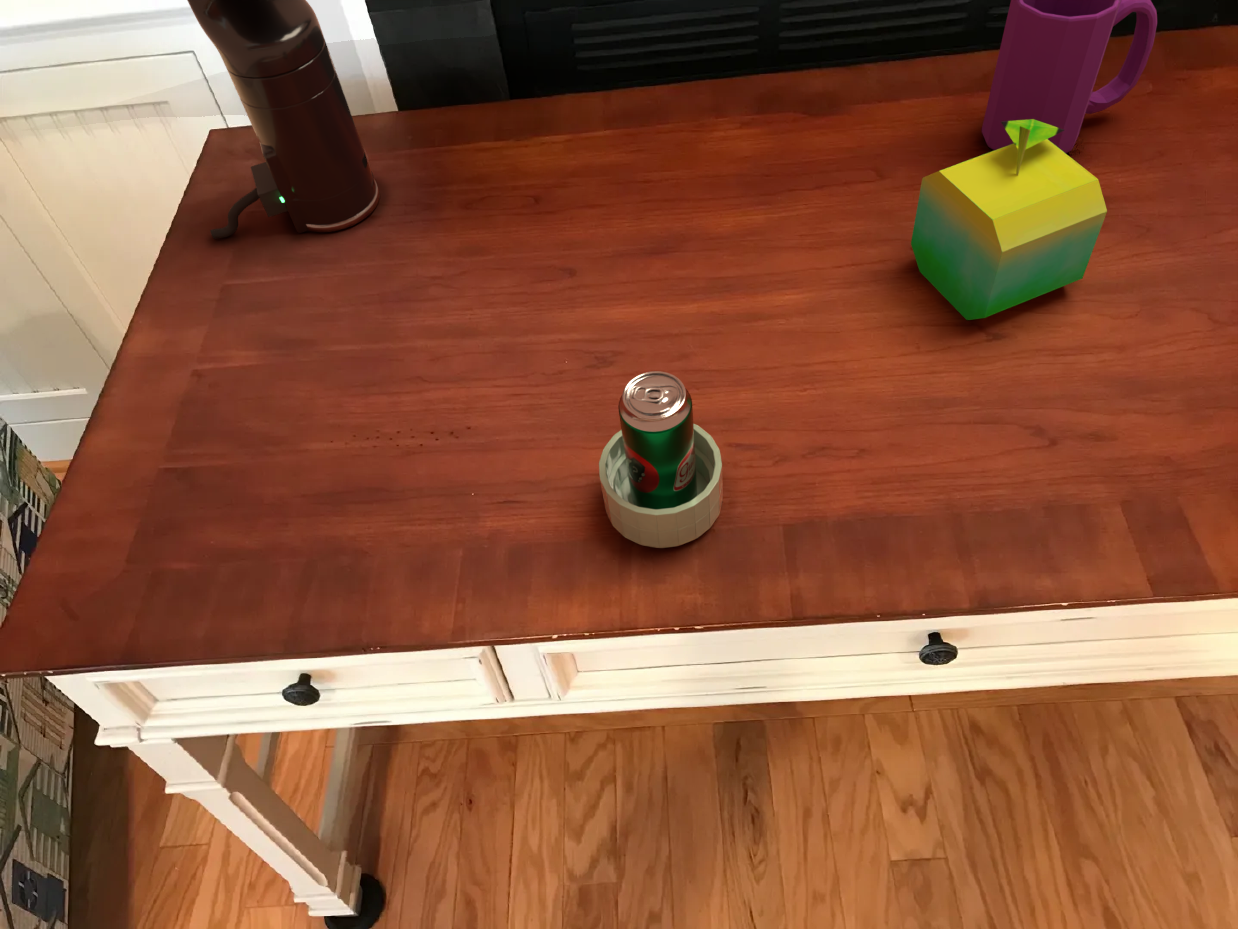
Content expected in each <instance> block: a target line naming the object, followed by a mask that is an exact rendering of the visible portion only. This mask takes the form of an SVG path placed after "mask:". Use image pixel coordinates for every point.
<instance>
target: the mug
mask: <svg viewBox="0 0 1238 929" xmlns="http://www.w3.org/2000/svg"><path fill="white" fill-rule="evenodd" d="M1133 12H1134V13H1136V23H1135V28H1134V32H1133V37H1132V41H1131V43H1130V46H1129V49H1128V52H1127V54H1126V57H1125V60H1124V62H1123V64H1122V65H1121V67H1120V70H1119V72H1118V74H1117V75H1115V76H1114V78H1112V79H1111V80H1110V81H1109V82H1108V83H1107V84H1106V85H1104V86H1102V87H1100V88H1099V89H1097V90H1096V91H1093V90H1094V88H1095V84H1096V82H1097V78H1098V74H1099V71H1100V68H1101V65H1102V62H1103V60H1104V56H1105V53H1106V49H1107V46H1108V43H1109V41H1110V37H1111V33H1112V30H1113V27H1114V26H1116V25H1117V24H1118V23H1120V22H1121V21H1123V20H1124V19H1125V18H1126V17H1127V16H1129V15H1130V14H1131V13H1133ZM1157 12H1158V11H1157V9H1156V7H1155V5H1154V3H1153V2H1152V0H1010V4H1009V9H1008V12H1007V17H1006V21H1005V25H1004V30H1003V34H1002V39H1001V42H1000V46H999V52H998V56H997V60H996V64H995V69H994V74H993V77H992V82H991V87H990V90H989V95H988V100H987V103H986V104H987V105H986V108H985V113H984V117H983V121H982V126H981V134H982V136H983V138H984V140H985V141H984V142H985V143H986V145H987V147H989V149H992V151H994V150H997V149H1000V148H1003V147H1005V146H1008V145H1011V144H1013V143H1014V142H1013V141H1012V139H1011V137H1010V136H1009V134H1008V133H1007V131H1006V129H1005V128H1004V126H1003V125H1002V123H1001V122H1002V121H1015V120H1029V119H1034V120H1037V121H1040V122H1043V123H1046V124H1049V125H1052V126H1055V127H1058V128H1061V129H1064V131H1062V132H1060V133H1058V134H1056V135H1054V136H1052V137H1050V138H1048V140H1049V141H1050V142H1052V143H1053V144H1054V145H1055V146H1057V147H1058V148H1059V149H1060V150H1062V151H1063V152H1064V153H1066V154H1067V153H1069V152H1071V151H1072V150H1073V148H1074V147H1075V144H1076V142H1077V140H1078V137H1079V136H1080V132H1081V128H1082V125H1083V122H1084V119H1085V115H1086V114H1088V115H1092V114H1096V113H1099V112H1102V111H1105V110H1107V109H1108V108H1111V107H1112V106H1114V105H1115V104H1118V103H1119V102H1121V101H1122V100H1123V99H1124V98H1125V97H1126V96H1127V95H1128V94H1129V93H1130V92H1131V90H1132V89H1134V88H1135V87H1136V85H1137V83H1138V82H1139V80H1140V78H1141V76H1142V74H1143V72H1144V70H1145V69H1146V66H1147V63H1148V60H1149V57H1150V55H1151V53H1152V49H1153V47H1154V43H1155V38H1156V32H1157V27H1158V14H1157Z"/></svg>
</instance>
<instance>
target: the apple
mask: <svg viewBox="0 0 1238 929" xmlns="http://www.w3.org/2000/svg"><path fill="white" fill-rule="evenodd" d="M1001 123H1002V125H1003V126H1004V128H1005V129H1006V131H1007V133H1008V134H1009V136H1010V137H1011V139H1012V141H1013V142H1014V143H1013V144H1011V145H1008V146H1005V147H1003V148H1000V149H997V150H992V151H988V152H986V153H983V154H981V155H979V156H976V157H972V158H969V159H968V160H967V159H966V160H964V161H962V162H959V163H957V164H954V165H952V166H948V167H946V168H943V169H940V170H938V171H935V172H933V173H931V174H928V175H926V176H924V177H922V179H921V184H920V189H919V196H918V201H917V206H916V212H915V218H914V222H913V227H912V228H913V229H912V234H911V241H910V246H911V248H912V249H911V250H912V252H913V256H914V258H915V261H916V264H917V267H918V272H919V273H921V275H922V276H923V277H924V278H925V279H926V280H927V281H928V282H929V283H930V284H931V285H932V286H933V287H934V288H935V289H936V290H937V292H939V294H940V295H941V296H943V297H944V298H945V299H946V300H947V302H949V304H950V305H951V306H952V307H953V308H954V309H955V310H956V311H957V312H958V313H959V314H960V315H961V316H962V317H963V318H964V319H965V320H966V321H972V320H979V319H986V318H988V317H991V316H993V315H995V314H998V313H1001V312H1003V311H1005V310H1008V309H1011V308H1012V307H1016V306H1018V305H1020V304H1024V303H1025V302H1028V301H1030V300H1033V299H1036V298H1037V297H1040V296H1043V295H1045V294H1047V293H1050V292H1053V291H1055V290H1058V289H1060V288H1063V287H1065V286H1068V285H1071V284H1072V283H1075V282H1078V281H1080V280H1082V279H1084V275H1085V273H1086V270H1087V268H1088V264H1089V261H1090V259H1091V256H1092V254H1093V251H1094V249H1095V246H1096V244H1097V241H1098V237H1099V235H1100V232H1101V229H1102V226H1103V225H1104V221H1105V219H1106V216H1107V213H1108V209H1107V205H1106V202H1105V199H1104V195H1103V192H1102V191H1103V190H1102V187H1101V184H1100V181H1099V178H1097V177H1096V176H1095V175H1093V173H1091V172H1090V171H1088V170H1087V169H1086V168H1085V167H1083V166H1082V165H1081V164H1079V163H1078V162H1077V161H1076V160H1074V158H1072V157H1070V156H1069V155H1068V154H1067V153H1064V152H1063V151H1062V150H1060V149H1059V148H1058V147H1057V146H1055V145H1054V144H1053V143H1052V142H1050V141H1049V140H1048V138H1050V137H1052V136H1054V135H1056V134H1058V133H1060V132H1062V131H1064V129H1061V128H1058V127H1055V126H1052V125H1049V124H1046V123H1043V122H1040V121H1037V120H1034V119H1029V120H1015V121H1002V122H1001Z"/></svg>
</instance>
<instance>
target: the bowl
mask: <svg viewBox="0 0 1238 929" xmlns="http://www.w3.org/2000/svg"><path fill="white" fill-rule="evenodd" d="M693 426H694V443H695V461H696V479H697V497H695V498H694V499H693V500H691V501H690V502H687V503H685V504H682V505H680V506H677V507H674V508H666V509H657V510H656V509H649V508H643V507H638V506H636V505H634V504H633V501H632V498H631V491H630V484H629V478H628V471H627V464H626V457H625V451H624V444H623V437H622V431H621V429H620V430H618V431H617V432H616V433H615V434H614V435H612V437H610V439H609V441H608V442H607V443H606V445H605V446H604V447H603V450H602V452H601V456H600V458H599V460H598V473H599V474H598V475H599V482H600V486H601V493H602V498H603V503H604V508H605V512H606V515H607V517H608V519H609V521H610V523H611V525H612V527H613V528H614V529H615V530H616V531H617V532H618V533H620V535H622V537H624V538H625V539H626V540H629V541H631V542H634V543H635V544H638V545H640V546H642V547H643V546H645V547H650V548H656V549H665V548H673V547H675V548H676V547H679V546H682V545H684V544H687V543H689V542H692V541H694V540H696V539H699V538H700V537H701V536H703V534H705V533H706V532H708V531H709V530H710V528H712V527H713V525H714V523H715V521H717V519H718V517H719V516H720V514H721V511H722V510H721V509H722V506H723V501H724V491H723V490H724V488H723V487H724V486H723V461H722V455H721V450H720V448H719V446H718V444H717V442H716V441H715V440H714V438H713V436H712V435H711V434H710V433H708V432H707V431H706V430H704V428H702V427H701V426H699V425H698V424H696V423H693Z"/></svg>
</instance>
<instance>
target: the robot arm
mask: <svg viewBox="0 0 1238 929" xmlns="http://www.w3.org/2000/svg"><path fill="white" fill-rule="evenodd" d="M186 1H187V3H188V6H189V7H190V9H191V12H192V13H193V15H194V17H195V19H196V21H197V22H198V25H199V26H200V28H201V29H202V30H203V32H204V34H205V35H206V37H207V38H208V39H209V40H210V42H211V43H212V44H213V46H214V47H215V49H217V52H218V54H219V56H220V58H221V60H222V62H223V64H224V67H225V68H226V71H227V73H228V76H229V77H230V80H231V82H232V84H233V86H234V89H235V90H236V93H237V95H238V97H239V100H240V102H241V104H242V106H243V109H244V111H245V113H246V115H247V117H248V120H249V122H250V125H251V127H252V129H253V131H254V134H255V135H256V138H257V140H258V144H259V146H260V150H261V153H262V157H263V159H264V162H261V163H258V164H255V165H251V166H250V170H251V174H252V177H253V182H254V185H255V188H253V190H251V191H250V192H248V193H247V194H245V195H243V196H242V197H241V198H240V199H238V200H237V201H236V202H235V203H234V204H233V205H232V206H231V207H230V209H229V210H228V213H227V225H225V226H224V227H219V228H213V229H209V232H210V235H211V237H212V239H213V240H217V239H222V238H227V237H230V236H232V235H234V234H235V233H236V232H237V230H238V228H239V217H240V216H241V214H242V212H243V211H245V209H247V208H248V207H249V206H251V205H252V204H253V203H256V201H258V200H260V202H261V204H262V207H263V208H264V211H265V212H266V216H267V217H268V218H271V217H274V216H277V215H280V214H283V213H286V212H288V214H289V217H290V219H291V221H292V223H293V226H294V228H295V230H296V232H297V234H302V233H306V232H313V233H332V232H336V231H341V230H344V229H347V228H350V227H353V226H355V225H356V224H359V223H360V222H362V221H363V220H364V219H367V217H368V216H370V215H371V213H372V212H374V210H375V209H376V207H377V206H378V204H379V201H380V197H381V193H380V190H379V186H378V184H377V183H378V182H377V181H376V180H375V176H374V174H373V171H372V169H371V165H370V163H369V162H370V160H369V157H368V156H367V154H366V151H365V148H364V147H363V146H364V145H363V144H362V141H361V138H360V135H359V133H358V129H357V127H356V123H355V121H354V118H353V116H352V113H351V110H350V108H349V104H348V101H347V98H346V96H345V92H344V90H343V87H342V85H341V84H342V83H341V81H340V79H339V76H338V73H337V70H336V68H335V63H334V62H333V59H332V56H331V53H330V50H329V47H328V45H327V42H326V39H325V37H324V33H323V30H322V27H321V24H320V22H319V19H318V17H317V14H316V12H315V11H314V9H313V7H312V6H311V4H310V3H309V2H308V1H307V0H186Z"/></svg>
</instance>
